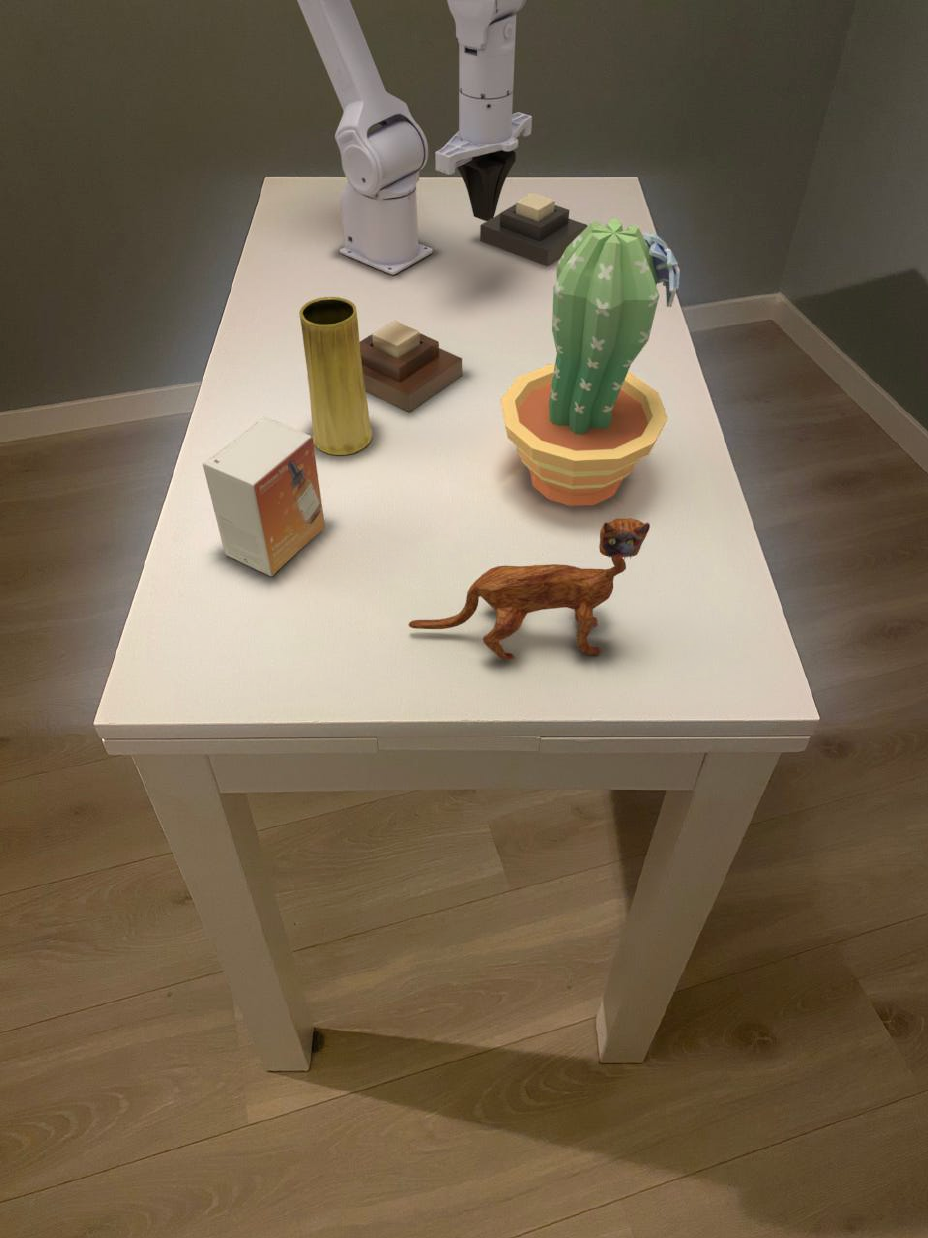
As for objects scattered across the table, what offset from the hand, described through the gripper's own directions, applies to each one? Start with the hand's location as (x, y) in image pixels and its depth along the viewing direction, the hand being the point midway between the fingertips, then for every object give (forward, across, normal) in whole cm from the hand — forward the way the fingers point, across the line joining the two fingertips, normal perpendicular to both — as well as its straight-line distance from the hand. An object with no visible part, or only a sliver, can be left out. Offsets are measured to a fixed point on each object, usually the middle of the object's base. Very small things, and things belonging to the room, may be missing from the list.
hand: (483, 216), depth 109 cm
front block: (+9, -20, -4) cm, 23 cm away
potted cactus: (+10, -22, -29) cm, 38 cm away
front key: (+6, -20, -4) cm, 21 cm away
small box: (+10, -47, -14) cm, 50 cm away
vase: (+10, -32, -8) cm, 34 cm away
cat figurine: (+10, -42, -38) cm, 57 cm away
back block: (+9, +15, +3) cm, 18 cm away
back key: (+6, +15, +3) cm, 16 cm away
